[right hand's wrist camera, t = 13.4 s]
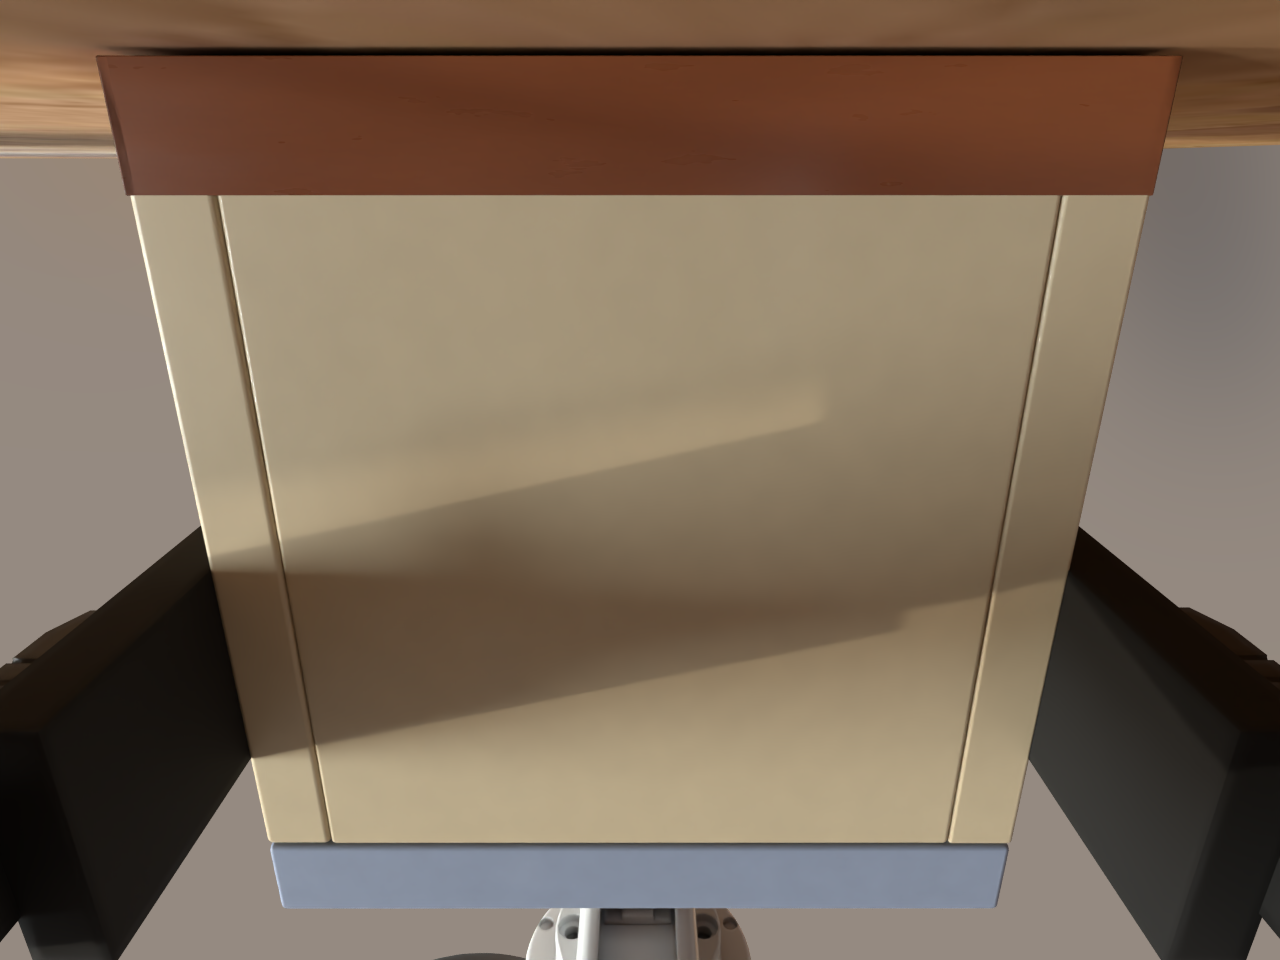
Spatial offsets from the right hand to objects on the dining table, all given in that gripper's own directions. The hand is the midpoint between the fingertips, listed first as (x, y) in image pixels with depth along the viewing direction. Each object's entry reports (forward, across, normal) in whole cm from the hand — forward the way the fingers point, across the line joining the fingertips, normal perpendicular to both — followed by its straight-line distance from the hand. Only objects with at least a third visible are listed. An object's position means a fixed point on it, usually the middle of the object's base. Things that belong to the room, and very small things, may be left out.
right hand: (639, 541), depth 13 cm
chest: (+4, 0, -7) cm, 8 cm away
